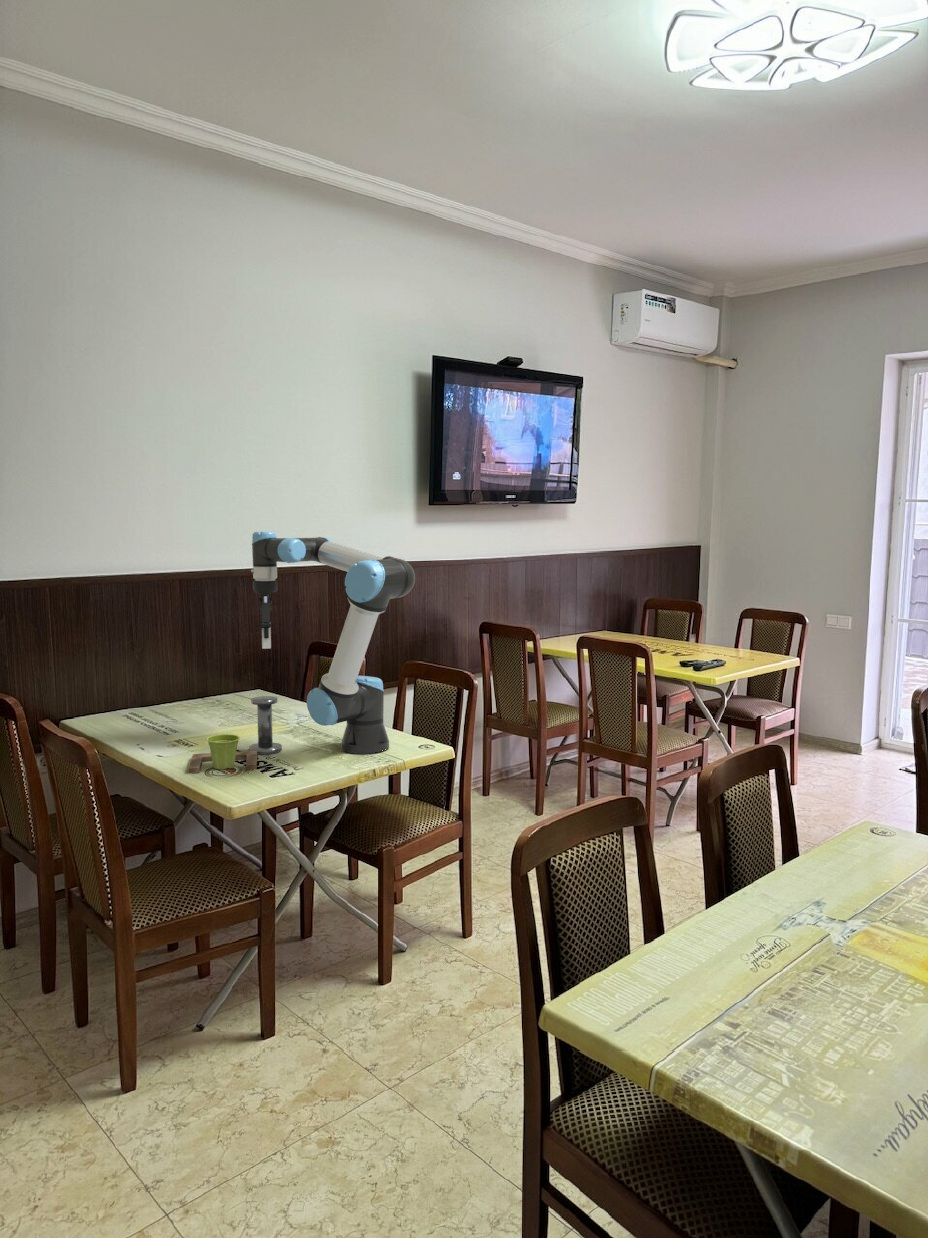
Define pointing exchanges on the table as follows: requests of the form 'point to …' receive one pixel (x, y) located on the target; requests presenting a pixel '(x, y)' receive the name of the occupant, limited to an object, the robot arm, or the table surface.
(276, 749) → the spool
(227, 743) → the plant pot
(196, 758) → the notched board
